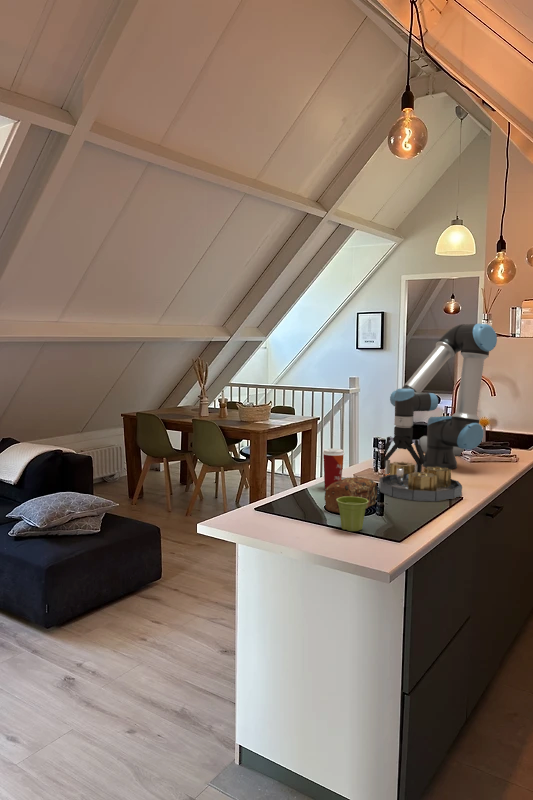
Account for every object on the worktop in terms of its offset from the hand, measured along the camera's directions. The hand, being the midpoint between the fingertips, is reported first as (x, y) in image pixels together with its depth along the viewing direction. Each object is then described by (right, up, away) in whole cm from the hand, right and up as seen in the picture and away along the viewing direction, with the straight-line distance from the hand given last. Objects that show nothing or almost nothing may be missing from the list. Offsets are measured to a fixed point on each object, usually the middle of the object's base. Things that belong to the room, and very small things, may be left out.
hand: (401, 478), depth 253 cm
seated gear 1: (+1, -1, -31) cm, 31 cm away
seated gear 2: (+9, 0, -20) cm, 22 cm away
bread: (-27, -4, -47) cm, 54 cm away
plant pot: (-31, -6, -71) cm, 77 cm away
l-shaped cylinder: (+32, +4, +60) cm, 68 cm away
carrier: (+2, -2, -23) cm, 23 cm away
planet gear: (0, 0, 0) cm, 0 cm away
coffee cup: (-31, -2, -20) cm, 37 cm away
